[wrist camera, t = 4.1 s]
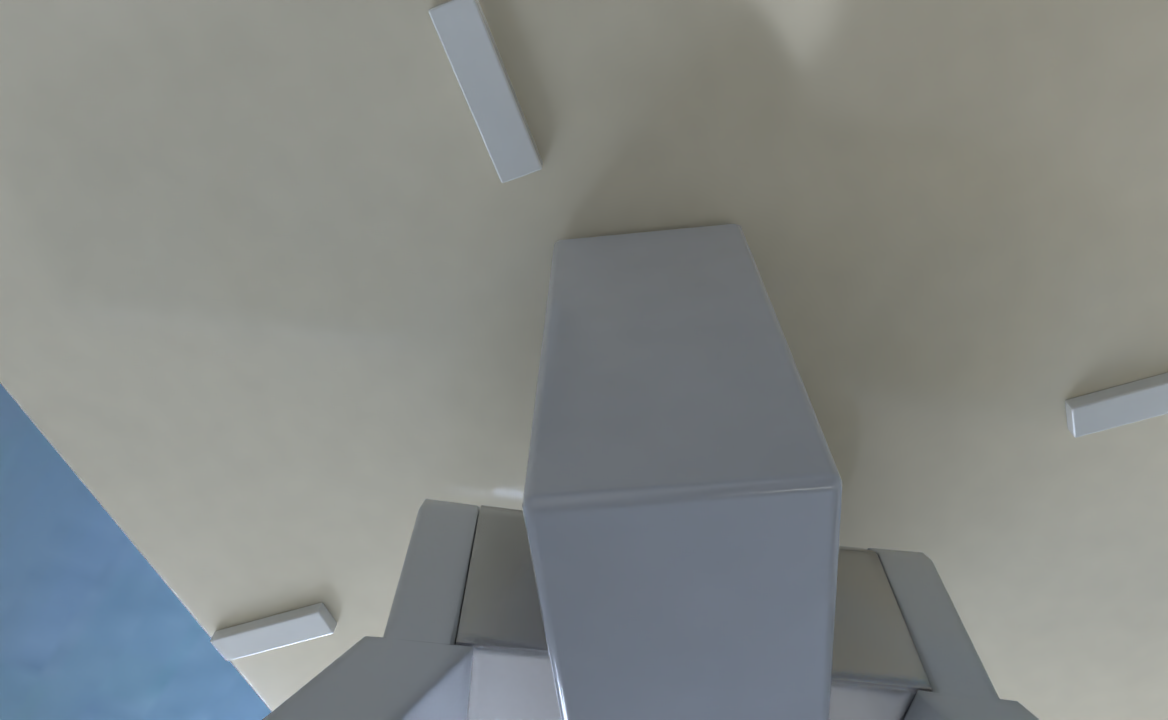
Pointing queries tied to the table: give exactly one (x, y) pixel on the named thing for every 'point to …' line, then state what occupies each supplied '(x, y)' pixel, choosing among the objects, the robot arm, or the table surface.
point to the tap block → (590, 209)
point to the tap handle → (678, 488)
